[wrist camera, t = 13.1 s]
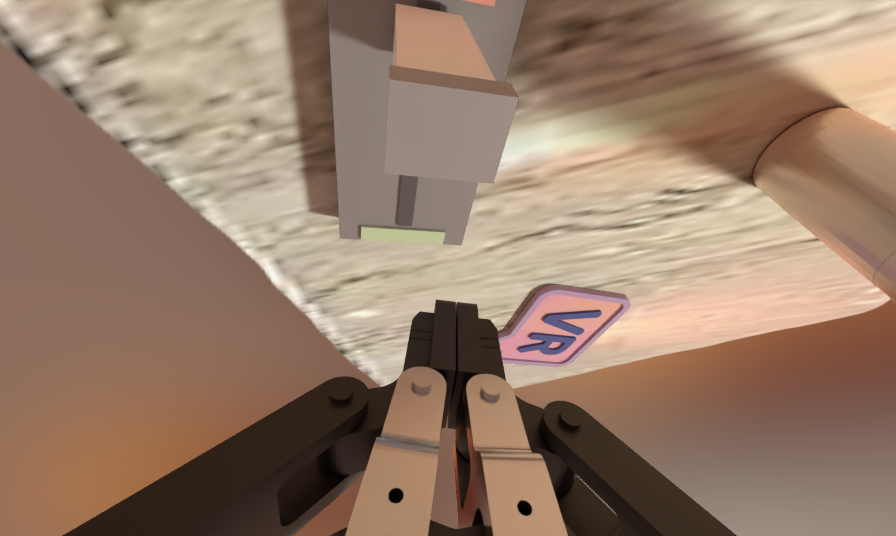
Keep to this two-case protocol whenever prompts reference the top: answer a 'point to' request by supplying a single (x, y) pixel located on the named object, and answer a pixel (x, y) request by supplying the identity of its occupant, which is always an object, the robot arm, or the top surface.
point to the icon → (560, 325)
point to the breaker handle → (443, 101)
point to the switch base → (365, 114)
